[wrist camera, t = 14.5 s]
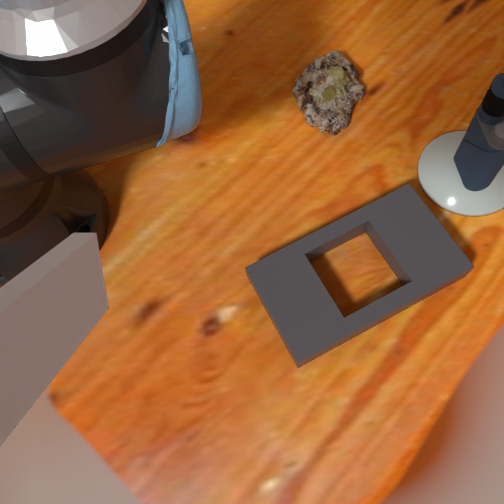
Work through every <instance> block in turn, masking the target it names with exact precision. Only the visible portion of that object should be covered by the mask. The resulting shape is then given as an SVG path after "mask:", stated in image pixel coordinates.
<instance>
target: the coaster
mask: <svg viewBox="0 0 504 504" xmlns="http://www.w3.org/2000/svg"><path fill="white" fill-rule="evenodd" d="M465 133H466V131H454V132H449V133H446V134H443V135H441V136H439V137H437V138H435V139H434V140H433V141H431V142H430V143H429V144H428V145H427V146H426V147H425V149H424V150H423V152H422V154H421V156H420V159H419V162H418V167H417V174H418V180H419V183H420V185H421V187H422V189H423V191H424V192H425V194H426V195H427V196H428V197H429V198H430V199H431V200H432V201H433V202H434V203H435V204H437V205H438V206H439V207H441V208H443V209H445V210H447V211H449V212H451V213H454V214H458V215H462V216H471V217H477V216H485V215H490V214H493V213H495V212H498V211H500V210H501V209H503V208H504V165H503V167H502V168H501V170H500V171H499V172H498V174H497V175H496V177H495V178H494V180H493V181H492V183H491V184H490V185H489V186H488V187H487V188H485V189H483V190H481V191H470V190H468V189H466V188H465V187H464V185H463V183H462V180H461V177H460V175H459V172H458V170H457V167H456V165H455V162H454V155H455V153H456V151H457V149H458V147H459V145H460V143H461V141H462V139H463V137H464V135H465Z"/></svg>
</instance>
